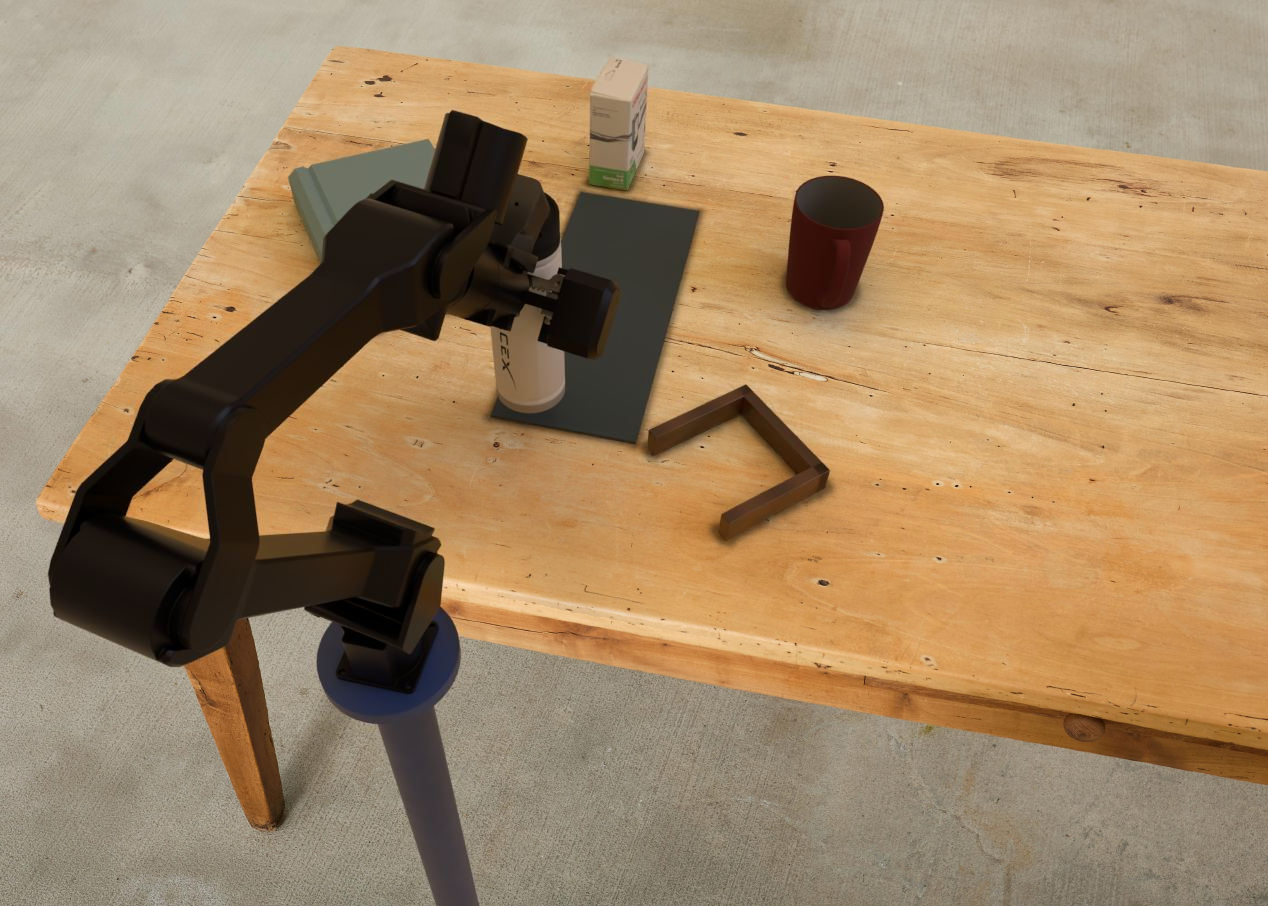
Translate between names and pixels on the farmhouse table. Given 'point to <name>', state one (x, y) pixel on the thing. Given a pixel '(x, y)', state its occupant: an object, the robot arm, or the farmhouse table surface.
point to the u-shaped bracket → (772, 430)
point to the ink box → (617, 123)
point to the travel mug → (532, 338)
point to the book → (353, 183)
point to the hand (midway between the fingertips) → (533, 300)
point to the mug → (830, 239)
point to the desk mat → (619, 312)
